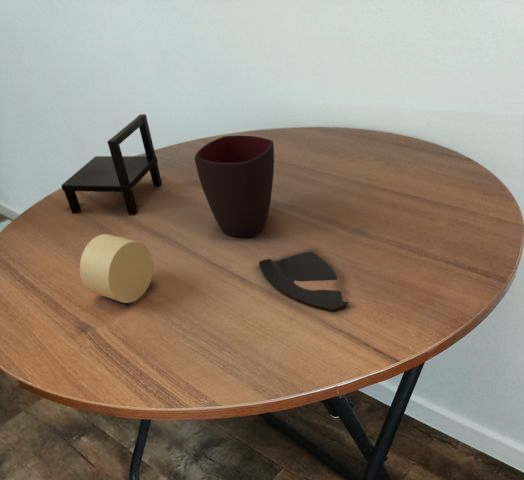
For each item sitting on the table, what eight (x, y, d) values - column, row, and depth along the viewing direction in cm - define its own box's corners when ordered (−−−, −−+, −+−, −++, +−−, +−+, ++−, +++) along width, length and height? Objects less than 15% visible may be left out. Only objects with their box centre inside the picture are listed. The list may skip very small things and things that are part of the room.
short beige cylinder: (93, 310, 66) (71, 253, 61) (133, 279, 71) (115, 223, 65) (121, 320, 64) (100, 261, 59) (160, 287, 69) (144, 230, 63)
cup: (199, 239, 77) (183, 159, 69) (244, 198, 86) (235, 123, 78) (258, 250, 73) (248, 167, 65) (299, 206, 82) (294, 128, 74)
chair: (71, 213, 88) (44, 142, 80) (103, 182, 97) (82, 115, 89) (135, 215, 85) (114, 141, 77) (163, 183, 94) (146, 114, 86)
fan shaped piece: (297, 331, 59) (296, 319, 58) (257, 272, 69) (255, 262, 68) (363, 309, 61) (363, 298, 60) (314, 255, 71) (313, 245, 70)
